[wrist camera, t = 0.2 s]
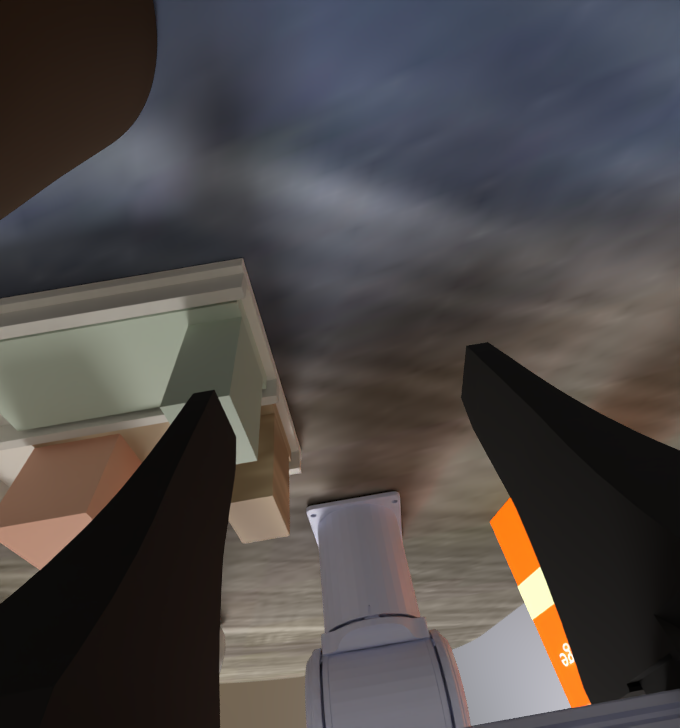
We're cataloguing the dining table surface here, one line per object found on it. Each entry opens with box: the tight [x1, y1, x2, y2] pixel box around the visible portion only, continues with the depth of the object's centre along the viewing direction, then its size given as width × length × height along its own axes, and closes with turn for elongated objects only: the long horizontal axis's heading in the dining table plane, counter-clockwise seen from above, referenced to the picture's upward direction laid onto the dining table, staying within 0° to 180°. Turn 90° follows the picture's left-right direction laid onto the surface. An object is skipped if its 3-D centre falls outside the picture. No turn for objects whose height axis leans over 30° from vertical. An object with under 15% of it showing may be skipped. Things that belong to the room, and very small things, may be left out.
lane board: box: [0, 258, 302, 502], centre depth 22 cm, size 20×15×2 cm
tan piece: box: [32, 403, 291, 544], centre depth 22 cm, size 14×6×6 cm, turn 97°
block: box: [0, 434, 142, 570], centre depth 22 cm, size 5×5×5 cm
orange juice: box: [490, 498, 591, 708], centre depth 29 cm, size 8×9×20 cm
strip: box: [0, 299, 267, 464], centre depth 18 cm, size 14×6×6 cm, turn 97°
